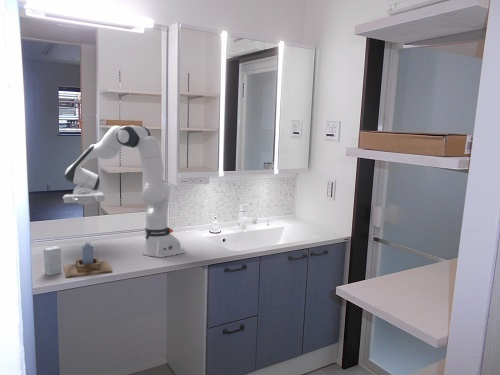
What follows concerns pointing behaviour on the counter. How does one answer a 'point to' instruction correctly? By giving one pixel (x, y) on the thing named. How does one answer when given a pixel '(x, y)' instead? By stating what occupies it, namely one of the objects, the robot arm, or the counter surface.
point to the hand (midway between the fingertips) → (85, 200)
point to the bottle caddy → (87, 268)
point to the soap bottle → (87, 253)
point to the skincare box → (52, 260)
